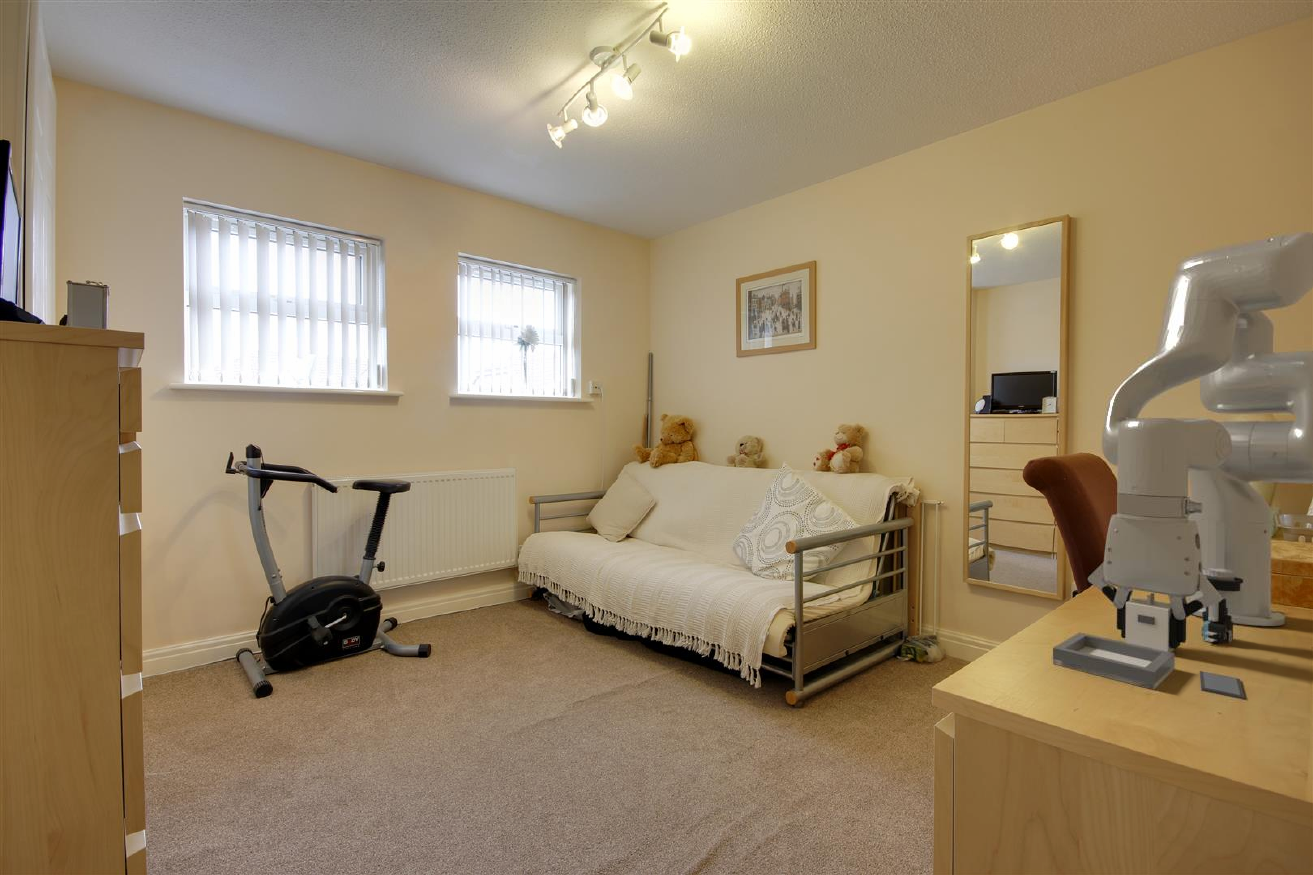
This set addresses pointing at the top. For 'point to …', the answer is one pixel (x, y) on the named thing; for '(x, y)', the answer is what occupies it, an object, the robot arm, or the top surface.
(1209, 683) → the phone
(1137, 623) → the charger
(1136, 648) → the dock
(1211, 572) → the push button
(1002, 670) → the top surface
